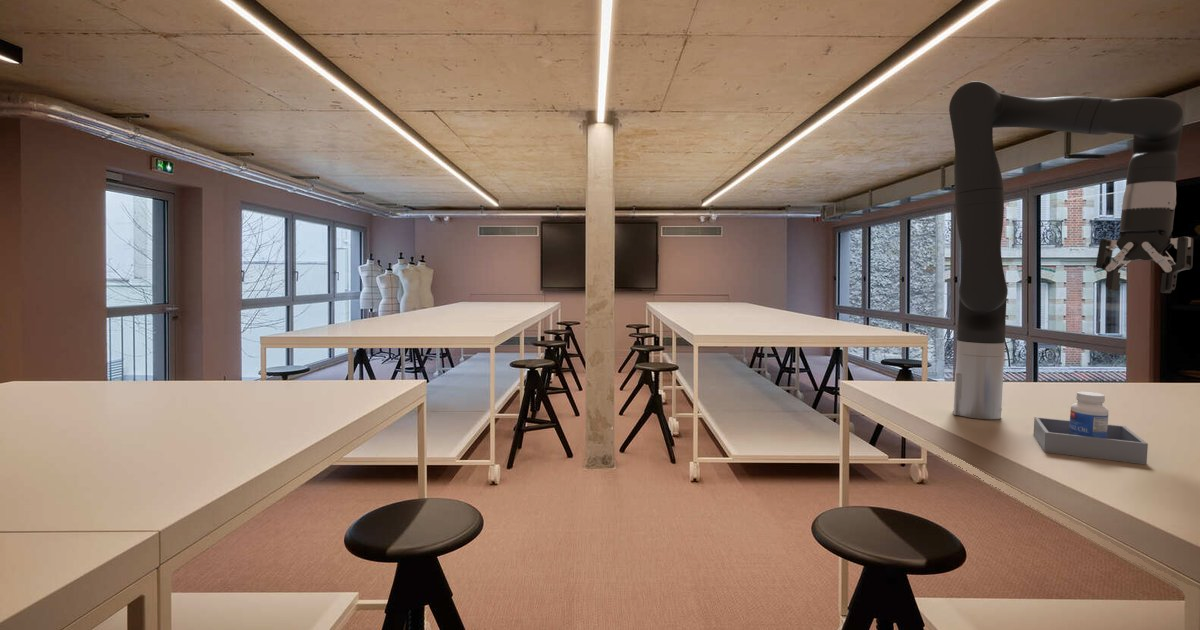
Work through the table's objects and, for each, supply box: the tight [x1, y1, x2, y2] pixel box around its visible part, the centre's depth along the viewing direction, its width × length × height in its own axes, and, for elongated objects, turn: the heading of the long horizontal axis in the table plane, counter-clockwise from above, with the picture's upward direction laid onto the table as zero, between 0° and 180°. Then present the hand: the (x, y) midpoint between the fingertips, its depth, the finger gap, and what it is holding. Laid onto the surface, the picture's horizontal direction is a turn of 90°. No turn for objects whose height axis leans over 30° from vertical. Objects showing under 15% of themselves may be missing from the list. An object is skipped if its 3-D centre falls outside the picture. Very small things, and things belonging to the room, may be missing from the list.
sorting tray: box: [1033, 416, 1149, 466], centre depth 109 cm, size 14×14×4 cm
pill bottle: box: [1069, 391, 1109, 439], centre depth 108 cm, size 6×5×10 cm
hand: (1138, 291), depth 114 cm, fingers open, 8 cm apart
